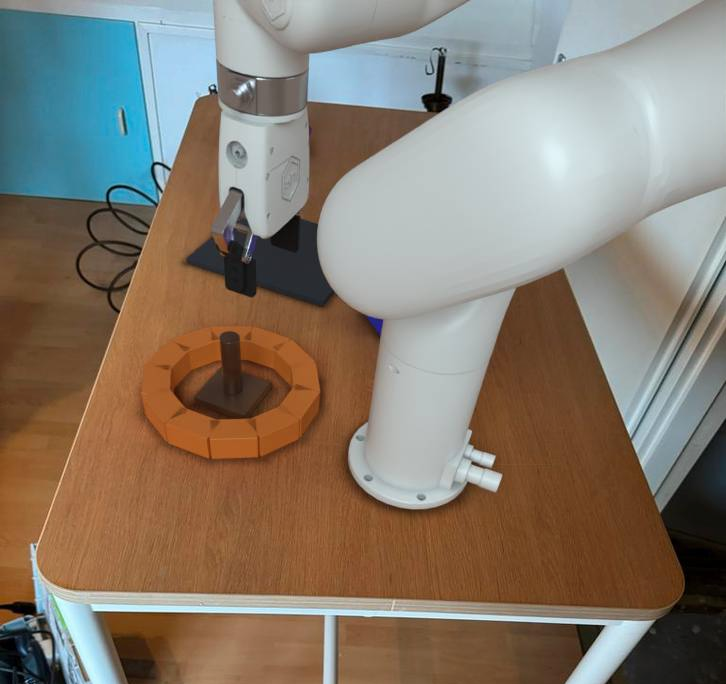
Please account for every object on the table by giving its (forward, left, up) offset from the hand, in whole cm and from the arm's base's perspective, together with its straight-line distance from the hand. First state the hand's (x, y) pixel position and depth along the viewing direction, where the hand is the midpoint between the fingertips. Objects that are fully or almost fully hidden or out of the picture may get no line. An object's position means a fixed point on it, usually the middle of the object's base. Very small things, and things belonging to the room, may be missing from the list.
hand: (263, 269), depth 67 cm
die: (-11, -13, -11) cm, 21 cm away
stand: (0, +8, -11) cm, 14 cm away
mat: (+8, -21, -11) cm, 25 cm away
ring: (0, +8, -11) cm, 14 cm away
